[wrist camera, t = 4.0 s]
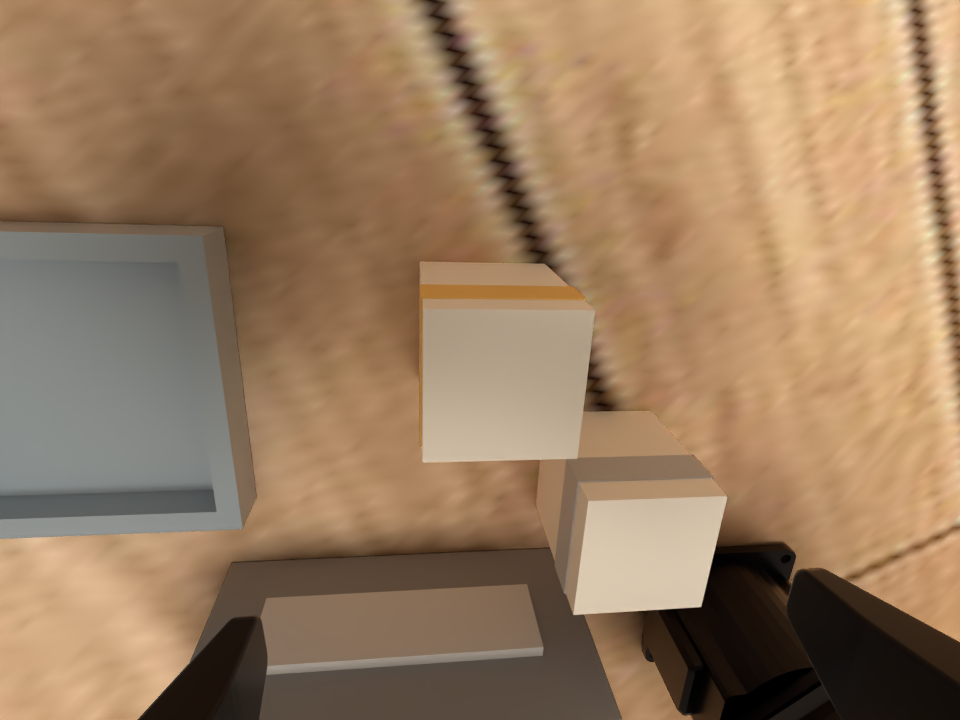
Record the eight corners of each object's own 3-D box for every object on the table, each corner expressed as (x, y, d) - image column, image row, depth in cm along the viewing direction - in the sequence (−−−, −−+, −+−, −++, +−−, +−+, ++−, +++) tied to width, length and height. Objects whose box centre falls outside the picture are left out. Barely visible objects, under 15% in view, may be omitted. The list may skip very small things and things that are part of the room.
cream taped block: (545, 262, 20) (597, 308, 15) (536, 378, 22) (578, 460, 16) (418, 260, 20) (421, 306, 14) (417, 379, 21) (420, 464, 16)
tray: (223, 226, 18) (202, 235, 17) (256, 496, 22) (242, 529, 20) (-140, 217, 17) (-207, 226, 15) (-38, 506, 21) (-82, 541, 19)
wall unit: (560, 540, 25) (624, 710, 17) (545, 669, 28) (594, 862, 20) (230, 554, 23) (145, 750, 16) (250, 690, 26) (187, 910, 18)
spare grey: (652, 409, 23) (729, 494, 17) (636, 502, 25) (702, 608, 19) (543, 410, 22) (587, 499, 17) (534, 506, 24) (571, 616, 18)
